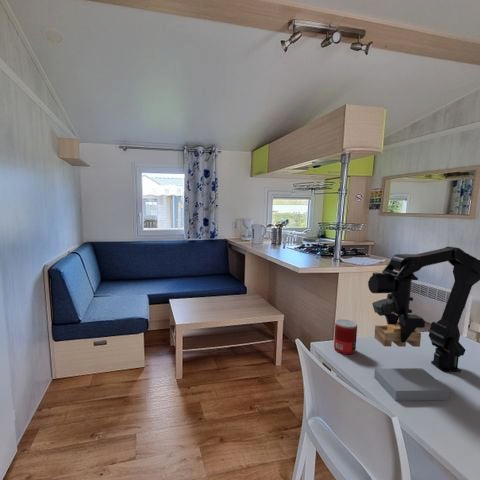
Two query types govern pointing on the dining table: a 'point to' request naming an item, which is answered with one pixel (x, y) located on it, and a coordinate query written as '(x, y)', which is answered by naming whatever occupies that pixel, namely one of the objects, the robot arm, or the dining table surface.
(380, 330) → the shallow cardboard tray
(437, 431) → the dining table surface
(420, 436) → the dining table surface
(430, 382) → the dock
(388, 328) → the block
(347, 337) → the canned food
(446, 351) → the robot arm
